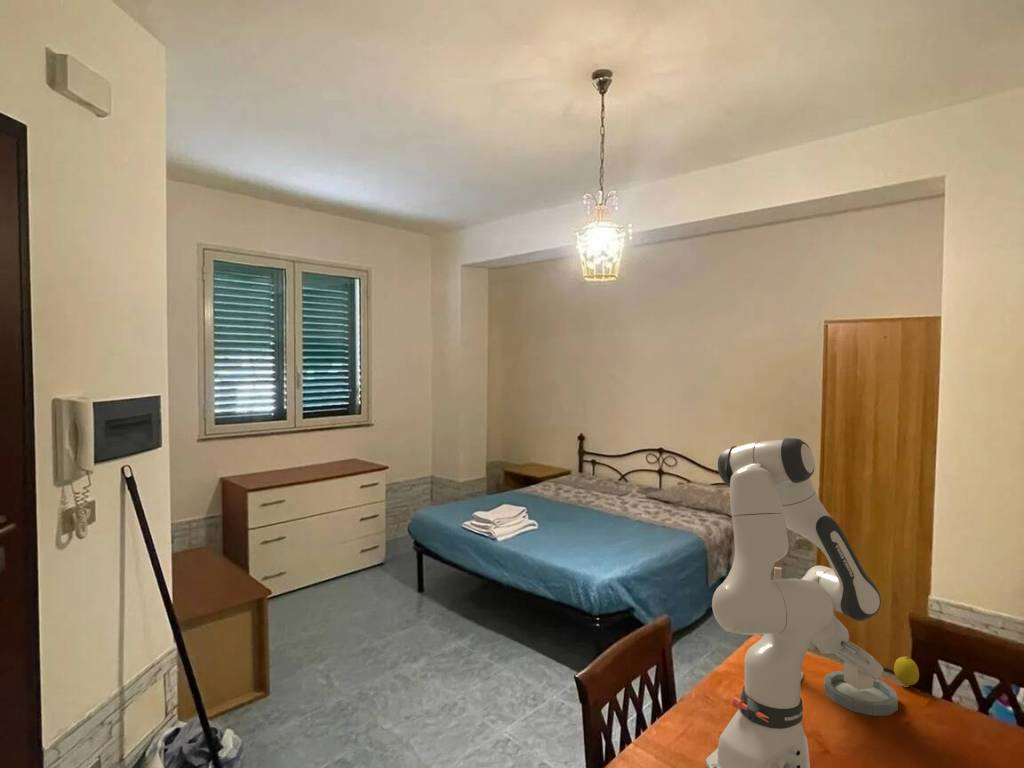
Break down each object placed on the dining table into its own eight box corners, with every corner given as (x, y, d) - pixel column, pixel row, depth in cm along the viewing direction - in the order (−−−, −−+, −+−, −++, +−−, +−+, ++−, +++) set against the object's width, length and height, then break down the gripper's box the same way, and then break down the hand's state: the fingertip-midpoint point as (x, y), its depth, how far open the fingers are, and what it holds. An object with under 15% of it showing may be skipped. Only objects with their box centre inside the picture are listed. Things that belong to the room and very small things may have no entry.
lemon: (910, 681, 154) (911, 652, 154) (923, 692, 148) (923, 662, 148) (889, 680, 154) (889, 651, 154) (901, 691, 149) (901, 661, 149)
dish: (877, 723, 135) (877, 712, 135) (812, 691, 149) (812, 682, 149) (909, 702, 144) (909, 692, 144) (844, 674, 157) (844, 665, 157)
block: (857, 690, 144) (858, 659, 144) (843, 680, 149) (844, 650, 148) (873, 687, 145) (873, 657, 145) (858, 678, 150) (858, 648, 149)
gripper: (869, 643, 135) (902, 679, 137) (807, 608, 155) (837, 640, 157) (853, 664, 134) (887, 699, 136) (793, 626, 154) (823, 657, 156)
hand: (860, 667), depth 147 cm, fingers closed on block, 5 cm apart
